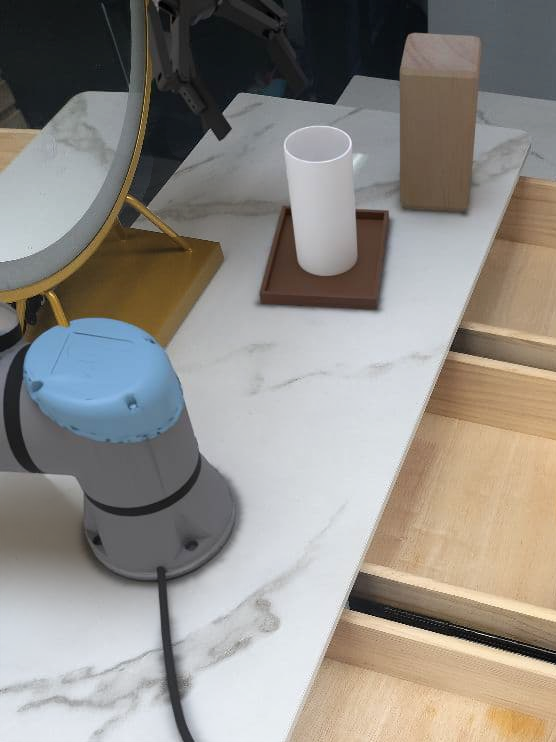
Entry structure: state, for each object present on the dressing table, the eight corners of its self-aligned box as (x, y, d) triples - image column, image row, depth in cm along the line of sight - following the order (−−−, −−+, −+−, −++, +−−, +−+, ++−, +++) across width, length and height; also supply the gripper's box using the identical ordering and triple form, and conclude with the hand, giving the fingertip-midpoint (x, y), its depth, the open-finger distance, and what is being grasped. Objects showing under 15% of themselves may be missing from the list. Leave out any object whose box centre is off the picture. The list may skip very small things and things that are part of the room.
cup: (288, 247, 112) (273, 134, 99) (343, 232, 114) (336, 119, 101) (310, 282, 108) (297, 169, 95) (367, 266, 110) (362, 153, 97)
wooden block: (471, 175, 123) (482, 32, 107) (468, 214, 118) (479, 70, 101) (406, 171, 124) (406, 29, 107) (399, 210, 118) (398, 66, 102)
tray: (376, 309, 106) (376, 298, 104) (261, 303, 106) (259, 293, 105) (389, 220, 117) (388, 210, 115) (283, 216, 117) (282, 205, 116)
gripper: (71, -50, 84) (201, 141, 91) (242, -118, 95) (347, 56, 102) (56, -6, 90) (179, 169, 97) (219, -76, 101) (319, 86, 109)
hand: (265, 112), depth 100 cm, fingers open, 13 cm apart
